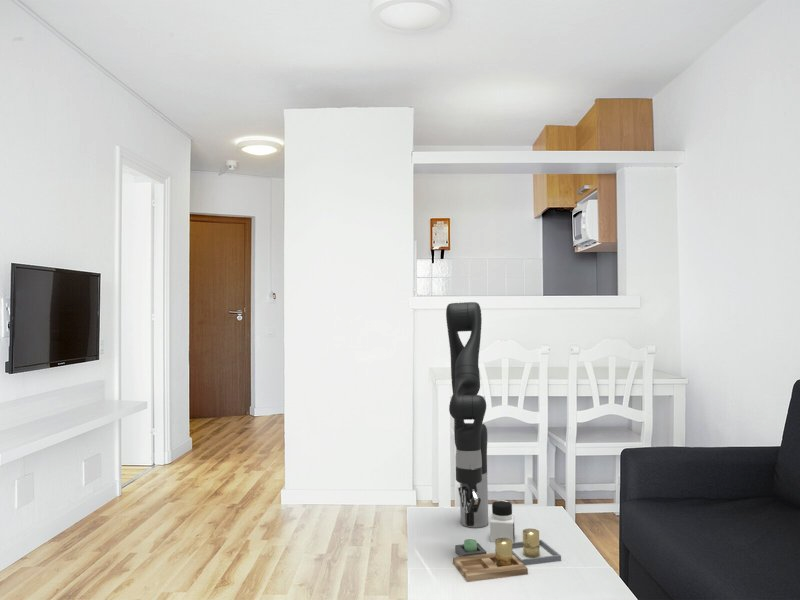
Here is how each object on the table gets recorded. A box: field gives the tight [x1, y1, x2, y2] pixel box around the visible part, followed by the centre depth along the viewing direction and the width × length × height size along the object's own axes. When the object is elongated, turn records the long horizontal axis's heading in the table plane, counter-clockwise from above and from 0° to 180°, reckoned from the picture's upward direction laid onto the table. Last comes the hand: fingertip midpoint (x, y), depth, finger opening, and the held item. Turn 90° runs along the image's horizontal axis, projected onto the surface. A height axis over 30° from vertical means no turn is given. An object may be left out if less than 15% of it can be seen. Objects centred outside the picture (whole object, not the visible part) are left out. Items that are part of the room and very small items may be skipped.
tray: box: [512, 539, 562, 566], centre depth 175 cm, size 12×12×2 cm
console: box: [454, 542, 488, 557], centre depth 175 cm, size 7×7×3 cm
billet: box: [522, 528, 541, 559], centre depth 175 cm, size 5×5×7 cm
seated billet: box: [494, 538, 513, 567], centre depth 167 cm, size 5×5×7 cm
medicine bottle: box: [489, 499, 516, 543], centre depth 188 cm, size 7×7×12 cm
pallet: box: [452, 552, 529, 583], centre depth 166 cm, size 12×17×2 cm
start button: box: [463, 538, 478, 552], centre depth 175 cm, size 4×4×3 cm
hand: (469, 525), depth 175 cm, fingers closed
